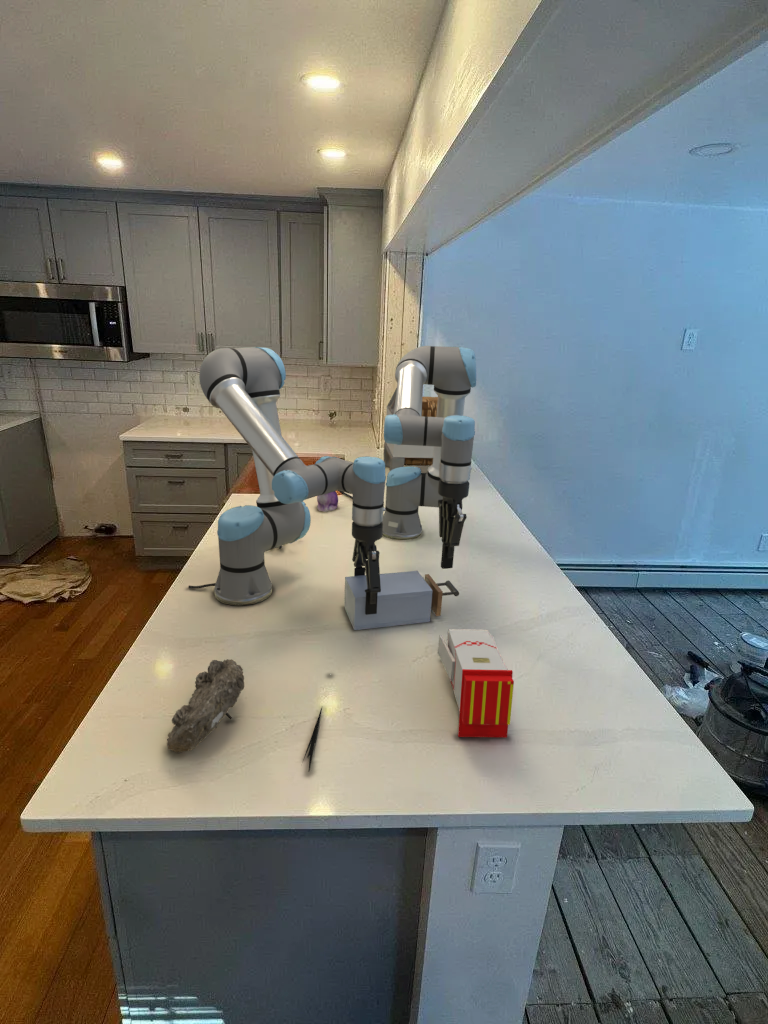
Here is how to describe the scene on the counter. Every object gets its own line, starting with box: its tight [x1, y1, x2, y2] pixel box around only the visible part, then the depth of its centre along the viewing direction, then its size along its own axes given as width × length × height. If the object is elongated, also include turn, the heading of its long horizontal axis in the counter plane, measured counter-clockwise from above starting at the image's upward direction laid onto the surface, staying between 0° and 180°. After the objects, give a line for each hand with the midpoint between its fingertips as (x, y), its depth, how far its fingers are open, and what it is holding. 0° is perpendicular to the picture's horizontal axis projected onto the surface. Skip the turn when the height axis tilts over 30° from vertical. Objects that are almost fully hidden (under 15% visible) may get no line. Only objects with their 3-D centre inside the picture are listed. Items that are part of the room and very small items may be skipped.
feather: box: [301, 673, 332, 771], centre depth 108 cm, size 2×28×2 cm
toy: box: [437, 628, 515, 738], centre depth 117 cm, size 12×13×30 cm
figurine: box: [316, 491, 339, 512], centre depth 219 cm, size 9×10×15 cm
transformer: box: [383, 387, 438, 472], centre depth 268 cm, size 34×33×41 cm
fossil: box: [166, 658, 245, 754], centre depth 106 cm, size 22×10×15 cm
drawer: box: [423, 573, 460, 617], centre depth 147 cm, size 24×10×7 cm, turn 106°
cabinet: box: [343, 570, 433, 631], centre depth 145 cm, size 20×12×9 cm, turn 106°
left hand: (364, 601), depth 144 cm, fingers closed on cabinet, 11 cm apart
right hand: (446, 567), depth 147 cm, fingers closed
